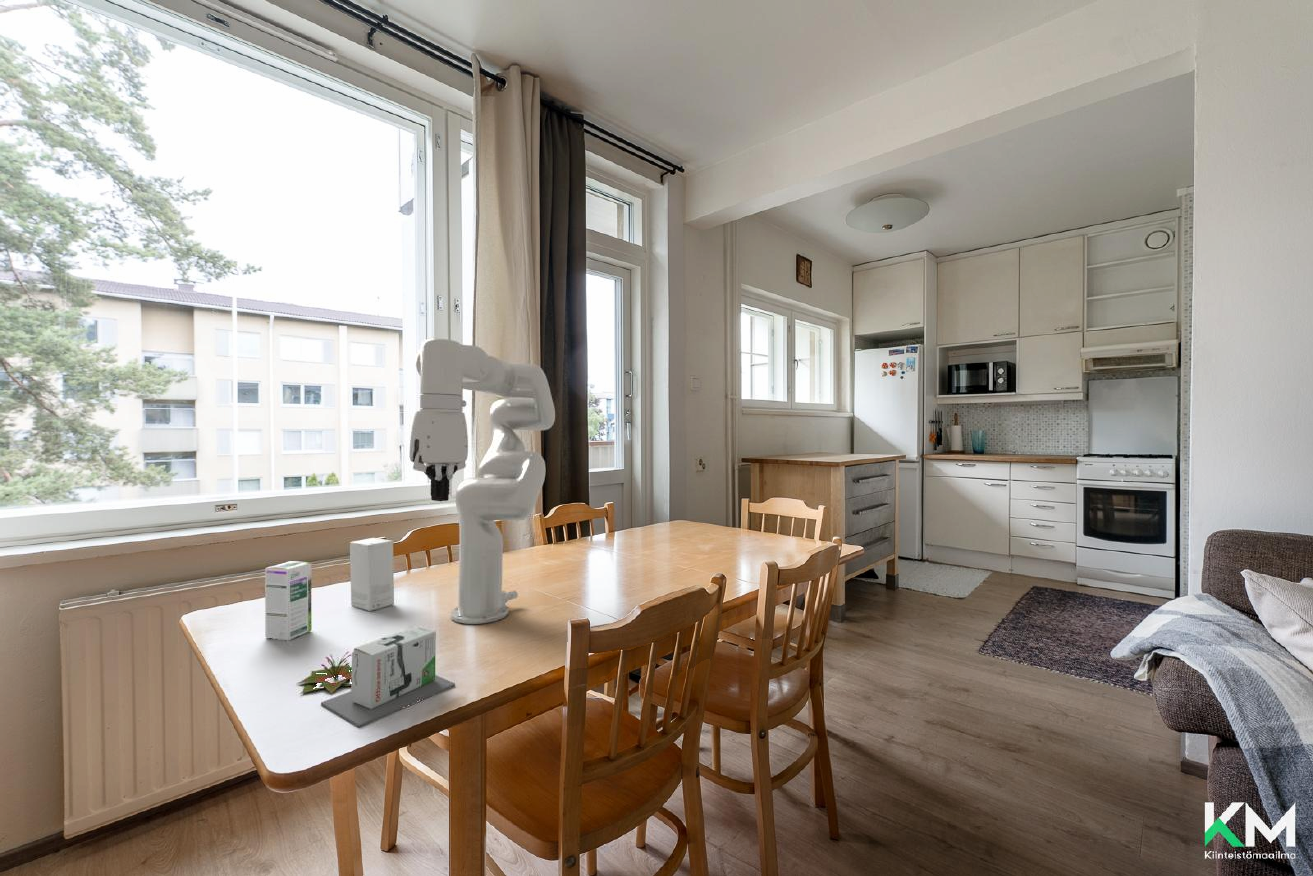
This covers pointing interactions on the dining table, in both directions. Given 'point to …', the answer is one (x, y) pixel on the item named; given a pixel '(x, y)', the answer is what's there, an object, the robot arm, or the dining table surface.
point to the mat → (364, 715)
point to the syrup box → (288, 600)
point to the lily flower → (329, 676)
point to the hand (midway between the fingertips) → (439, 500)
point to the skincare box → (372, 573)
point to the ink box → (392, 666)
